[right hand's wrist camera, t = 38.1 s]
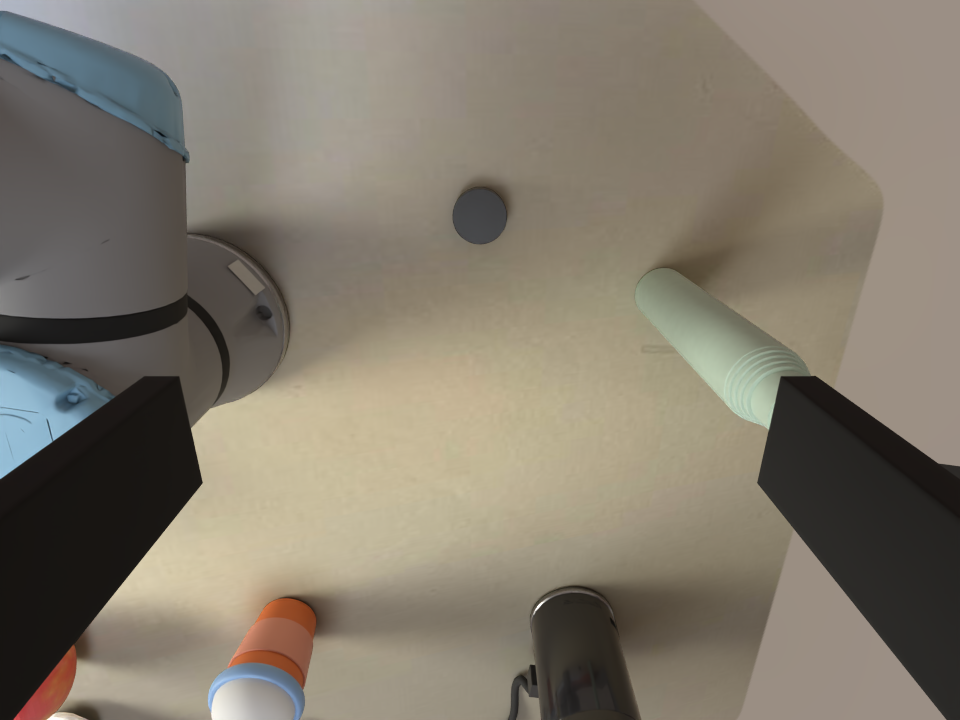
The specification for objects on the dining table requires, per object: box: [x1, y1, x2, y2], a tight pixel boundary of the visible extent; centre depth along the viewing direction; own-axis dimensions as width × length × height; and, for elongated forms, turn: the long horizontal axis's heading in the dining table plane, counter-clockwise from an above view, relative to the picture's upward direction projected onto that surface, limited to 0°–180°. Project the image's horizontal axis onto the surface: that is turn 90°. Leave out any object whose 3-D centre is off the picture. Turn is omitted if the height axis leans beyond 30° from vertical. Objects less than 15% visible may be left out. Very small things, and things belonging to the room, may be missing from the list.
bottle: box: [635, 268, 811, 430], centre depth 38 cm, size 5×5×24 cm
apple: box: [14, 645, 77, 720], centre depth 60 cm, size 10×10×10 cm
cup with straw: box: [208, 598, 316, 720], centre depth 55 cm, size 9×9×18 cm
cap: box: [453, 187, 507, 244], centre depth 46 cm, size 4×4×2 cm
